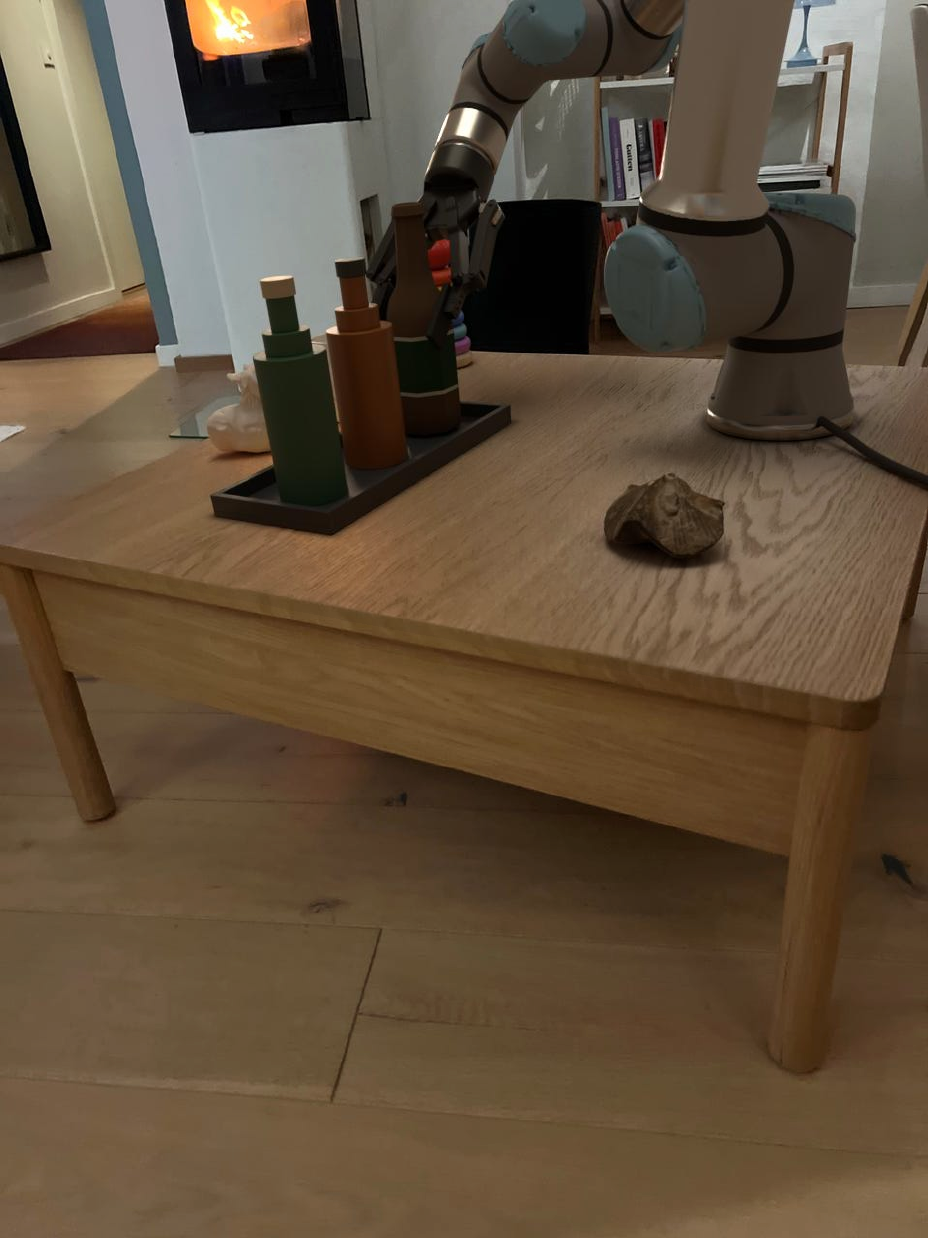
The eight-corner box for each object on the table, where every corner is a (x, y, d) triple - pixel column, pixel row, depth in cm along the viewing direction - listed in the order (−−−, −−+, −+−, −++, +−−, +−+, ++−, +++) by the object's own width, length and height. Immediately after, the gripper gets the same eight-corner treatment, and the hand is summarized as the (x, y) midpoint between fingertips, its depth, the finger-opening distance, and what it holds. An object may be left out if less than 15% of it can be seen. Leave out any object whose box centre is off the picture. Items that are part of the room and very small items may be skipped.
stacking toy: (419, 362, 142) (405, 233, 133) (470, 356, 142) (459, 227, 133) (423, 373, 135) (408, 238, 126) (476, 367, 135) (465, 232, 126)
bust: (220, 479, 106) (225, 415, 97) (194, 430, 108) (196, 363, 99) (312, 454, 112) (325, 391, 102) (286, 408, 114) (296, 342, 104)
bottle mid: (419, 459, 97) (396, 256, 88) (362, 474, 94) (332, 266, 85) (390, 445, 103) (365, 252, 93) (335, 459, 100) (304, 262, 90)
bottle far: (359, 494, 89) (326, 275, 80) (295, 512, 86) (253, 287, 77) (330, 477, 95) (297, 269, 85) (270, 494, 92) (227, 281, 82)
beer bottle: (455, 435, 102) (434, 204, 91) (389, 436, 104) (360, 209, 93) (468, 415, 109) (450, 197, 98) (406, 416, 111) (381, 202, 99)
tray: (410, 414, 116) (408, 397, 114) (511, 422, 109) (510, 404, 108) (214, 516, 89) (209, 495, 88) (331, 535, 82) (327, 512, 81)
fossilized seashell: (752, 518, 71) (664, 504, 80) (714, 458, 68) (627, 450, 76) (696, 589, 70) (613, 568, 78) (655, 531, 66) (572, 515, 75)
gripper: (555, 183, 102) (496, 364, 97) (406, 192, 111) (347, 357, 107) (531, 132, 95) (468, 323, 91) (376, 146, 105) (312, 320, 101)
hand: (403, 341), depth 99 cm, fingers closed on beer bottle, 7 cm apart
